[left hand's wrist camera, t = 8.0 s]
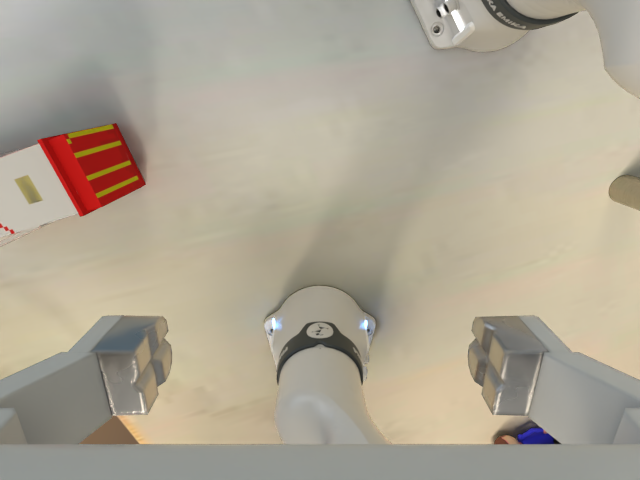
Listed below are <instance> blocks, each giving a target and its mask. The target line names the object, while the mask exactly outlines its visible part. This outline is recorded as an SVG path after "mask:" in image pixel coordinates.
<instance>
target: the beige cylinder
mask: <svg viewBox="0 0 640 480" xmlns="http://www.w3.org/2000/svg"><path fill="white" fill-rule="evenodd" d="M609 195H610V198H611V199H612V200H613V201H615V202H618V203H621V204H623V205H626V206H629V207H631V208H634V209H637V210H639V211H640V178H638V177H635V176H631V175H624V176H620V177H618V178H617V179H616V180H615V181H614V182H613V183H612V184H611V186H610V189H609Z"/></svg>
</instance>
